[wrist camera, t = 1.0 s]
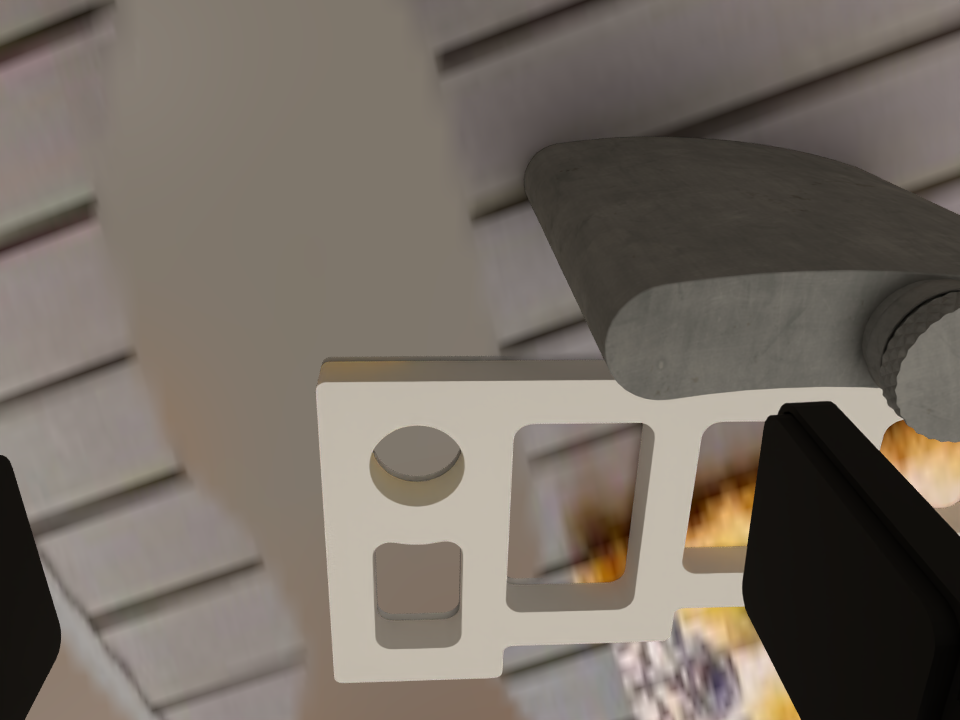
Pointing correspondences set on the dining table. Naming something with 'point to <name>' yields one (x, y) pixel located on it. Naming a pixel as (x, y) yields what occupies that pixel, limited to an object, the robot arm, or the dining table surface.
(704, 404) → the holder
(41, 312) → the dining table surface
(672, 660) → the dining table surface
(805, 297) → the hip flask
